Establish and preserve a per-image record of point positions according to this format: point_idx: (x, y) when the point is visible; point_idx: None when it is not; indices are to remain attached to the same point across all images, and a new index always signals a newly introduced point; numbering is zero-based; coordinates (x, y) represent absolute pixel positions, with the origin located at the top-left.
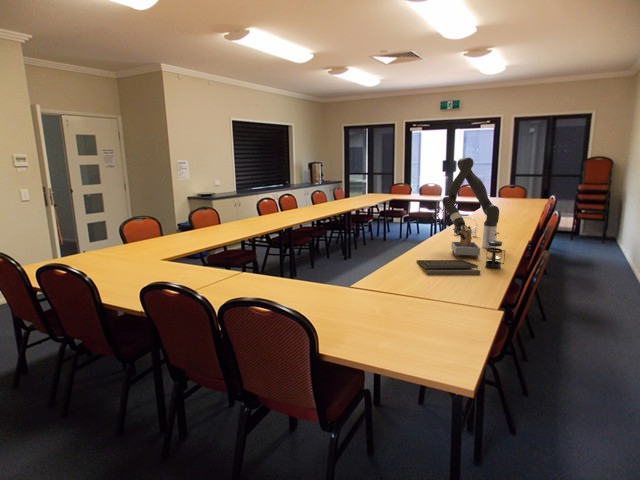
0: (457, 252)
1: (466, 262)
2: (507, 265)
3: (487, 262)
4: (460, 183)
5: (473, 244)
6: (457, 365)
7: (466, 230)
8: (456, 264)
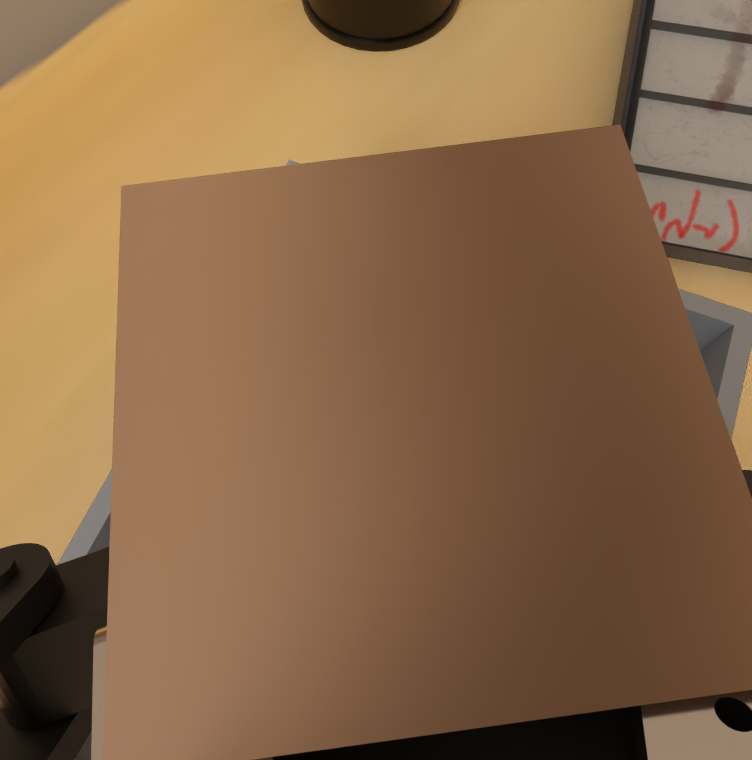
0: None
1: (635, 95)
2: (174, 18)
3: (403, 5)
4: None
5: None
6: None
7: (571, 146)
8: None
